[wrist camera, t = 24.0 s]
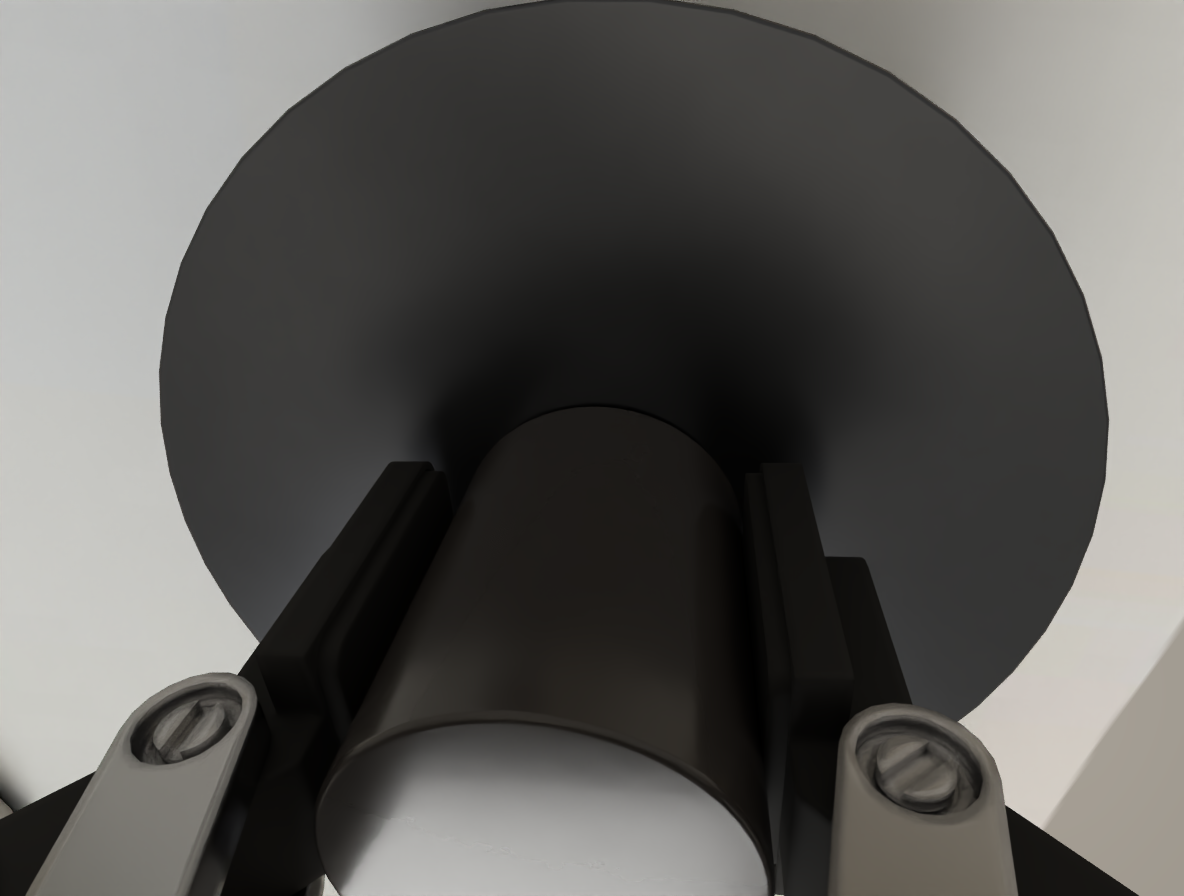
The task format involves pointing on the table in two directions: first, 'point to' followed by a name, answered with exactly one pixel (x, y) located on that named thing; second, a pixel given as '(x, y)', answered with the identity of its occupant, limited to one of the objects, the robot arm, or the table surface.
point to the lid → (623, 417)
